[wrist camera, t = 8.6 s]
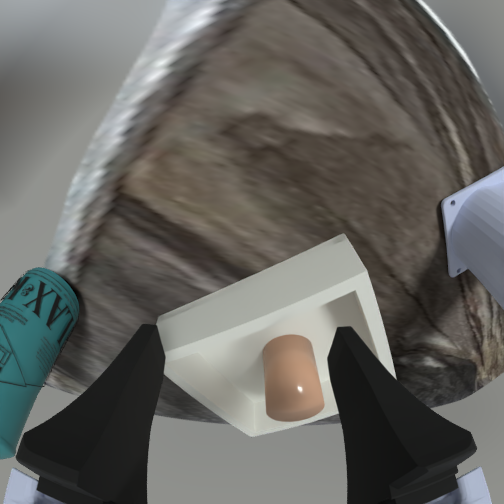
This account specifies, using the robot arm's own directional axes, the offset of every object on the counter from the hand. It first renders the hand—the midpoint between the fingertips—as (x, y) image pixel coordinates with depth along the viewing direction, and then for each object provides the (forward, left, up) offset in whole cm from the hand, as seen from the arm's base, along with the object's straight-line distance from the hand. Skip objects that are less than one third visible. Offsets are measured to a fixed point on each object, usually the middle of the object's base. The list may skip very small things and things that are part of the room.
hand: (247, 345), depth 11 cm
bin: (+2, +11, -9) cm, 15 cm away
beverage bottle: (+17, -4, -10) cm, 20 cm away
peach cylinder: (+2, +11, -9) cm, 14 cm away
